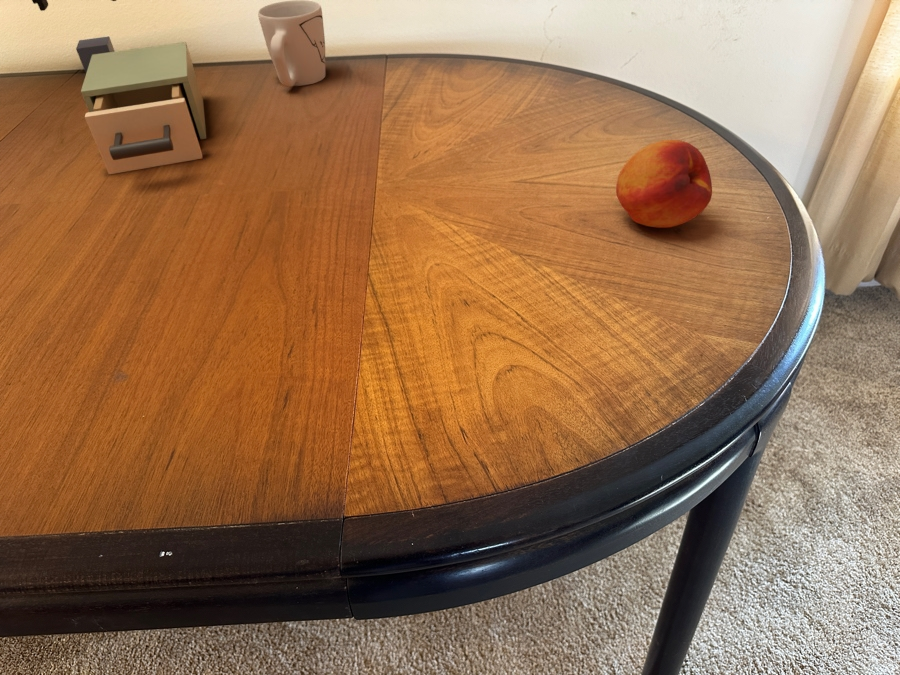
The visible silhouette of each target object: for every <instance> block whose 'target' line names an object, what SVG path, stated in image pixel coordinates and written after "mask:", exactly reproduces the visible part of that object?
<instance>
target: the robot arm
mask: <svg viewBox="0 0 900 675" xmlns="http://www.w3.org/2000/svg"><path fill="white" fill-rule="evenodd" d="M111 1H112V2H117V0H111ZM31 2H32V4H34V5H35V4H37V6H38V9H39V11H41V12H43V11H46V10H47V8H48V7H49V2H48V0H31Z"/></svg>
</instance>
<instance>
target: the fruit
mask: <svg viewBox="0 0 900 675" xmlns="http://www.w3.org/2000/svg"><path fill="white" fill-rule="evenodd" d="M616 180H617V181H616V185H615V187H616V188H615V190H616V191H615V192H616V197H617V199H618V202H619V204H620V206H621V207H622V209H623V210H624V211H625V212H627V214H628V216H629V218H630V219H631V220H632V221H633V222H635V223H637V224H640V225H642V226H645V227H650V228H658V229H660V228H662V229H663V228H664V229H665V228H672V227H677V226H680V225H683V224H685V223H687V222H689V221H691V220H693V219H695V218H696V217H697V216H699V215H700V214H701V213H702V212H703V211H704V210H705V209H706V208H707V207H708V205H709V204H710V202H711V200H712V197H713V185H712V184H713V182H712V177H711V173H710V169H709V167H708V164H707V161H706V159H705V157H704V156H703V154H702V152H701V151H700V150H699V149H698V148H697V147H695V146H694V145H693V144H691V143H689V142H687V141H684V140H679V139H663V140H658V141H655V142H652V143H649V144H648V145H645V146H643V148H641V149H639V150H637V151H636V152H635V153H634V154H633V155H632V156H631V157H629V159H628V160H627V161H626V162H625V164H624V165H623V167H622V168H621V169H620V171H619V174H618V176H617V179H616Z"/></svg>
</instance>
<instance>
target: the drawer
mask: <svg viewBox="0 0 900 675" xmlns="http://www.w3.org/2000/svg"><path fill="white" fill-rule="evenodd" d="M93 110H94V112H89V111H88V112H85V115H84V120H85V122H86V124H87V126H88V128H89V131H90V133H91V135H92V138H93V141H94V142H95V145H96V148H97V149H98V152H99V154H100V156H101V160H102V161H103V164H104V166H105V169H106V171H107V173H108V175H114V174H119V173H127V172H131V171H137V170H142V169H143V170H145V169H150V168H154V167H155V168H156V167H161V166H167V165H172V164H178V163H183V162H184V163H185V162H188V161H195V160H201V159H203V153H202V152H203V151H202V149H201V146H200V142H199V140H198V137H197V132H196V124H195V120H194V117H193V114H192V111H191V108H190V104H189V101H188V98H187V95H186V92H185V88H184V85H183V83H177V84H171V85H164V86H157V87H150V88H144V89H137V90H130V91H124V92H117V93H110V94H103V95H97V96H96V100H95V104H94V108H93Z"/></svg>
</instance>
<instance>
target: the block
mask: <svg viewBox="0 0 900 675" xmlns="http://www.w3.org/2000/svg"><path fill="white" fill-rule="evenodd" d="M75 50H76V53H77V55H78V58H79V60H80V62H81V65H82V68H83V70H84V72H85V73H87V70H88V67H89V63H90V60H91V57H92V55H93V54H101V53H108V52H115V51H116V50H115V48H114V45H113V42H112V40H111V37H110V36H101V37H93V38H86V39H78V42H77V45H76V48H75Z"/></svg>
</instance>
